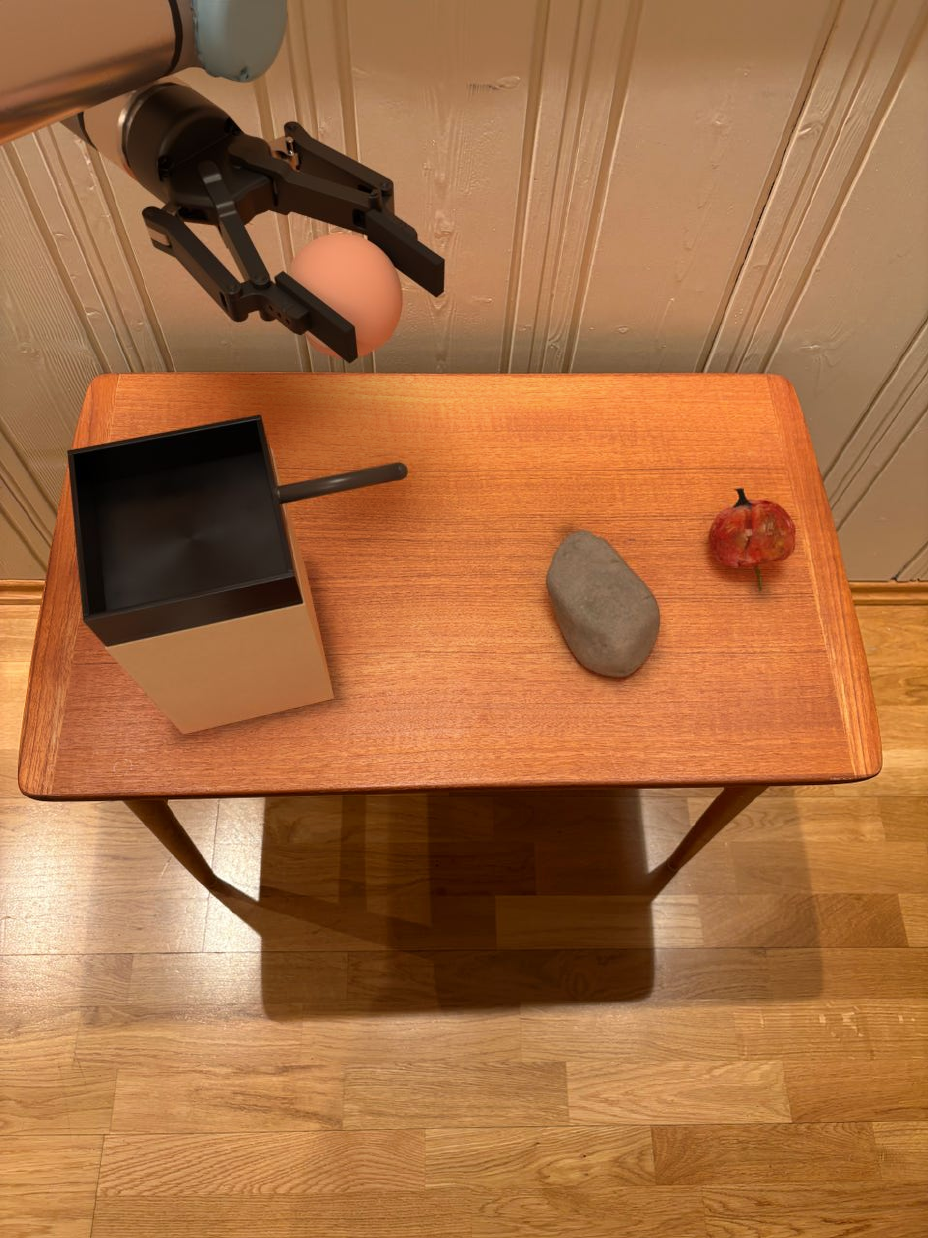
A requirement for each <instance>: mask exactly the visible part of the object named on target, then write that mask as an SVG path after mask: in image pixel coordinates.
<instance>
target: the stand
mask: <svg viewBox="0 0 928 1238" xmlns="http://www.w3.org/2000/svg"><path fill="white" fill-rule="evenodd" d="M270 448H271V447H270ZM271 452H272V457H273V462H274V466H275V471H276V476H277V480H278V485H279V486H281V485H283V481H282V478H281V475H280V471H279V468H278V464H277V460H276V457H275V454H274V450H273V447H272V448H271ZM283 509H284V513H285V518H286V523H287V527H288V532H289V537H290V541H291V546H292V551H293V555H294V560H295V565H296V570H297V574H298V579H299V584H300V588H301V593H302V598H303V602H304V603H303V604H299V605H294V606H290V607H285V608H281V609H276V610H272V611H267V612H263V613H258V614H254V615H249V616H245V617H240V618H236V619H231V620H227V621H222V622H217V623H213V624H208V625H204V626H199V627H195V628H190V629H186V630H181V631H177V632H172V633H168V634H163V635H159V636H154V637H150V638H145V639H141V640H136V641H131V642H127V643H122V644H118V645H113V646H109V647H106V646H105V645H104V649H105V651H106V652H107V653H108V654H109V655H110V656H111V657H112V658H113V659H114V660H115V662H116V663H117V664H118V665H119V666H120V668H122V670H123V671H124V672H125V673H126V674H128V676H129V677H130V678H131V679H132V680H133V681H134V682H135V684H136V685H137V686H138V687H139V688H140V690H142V691H143V692H144V694H145V695H146V697H148V698H149V699H150V700H151V701H152V703H154V705H156V707H157V708H158V709H159V710H160V711H161V712H162V713H163V714H164V715H165V716H166V718H167V719H168V720H169V721H170V722H171V723H172V724H173V726H175V727H176V729H177V730H178V731H179V732H180V733H181V734H182V735H187V734H192V733H197V732H201V731H204V730H209V729H214V728H218V727H221V726H225V725H230V724H234V723H239V722H243V721H246V720H251V719H255V718H260V717H263V716H267V715H272V714H276V713H281V712H284V711H289V710H293V709H297V708H301V707H305V706H309V705H313V704H318V703H322V702H326V701H330V700H334V699H335V695H334V690H333V686H332V681H331V676H330V672H329V667H328V663H327V660H326V659H327V658H326V654H325V649H324V645H323V640H322V636H321V632H320V627H319V623H318V617H317V613H316V609H315V603H314V598H313V594H312V590H311V585H310V581H309V576H308V571H307V567H306V564H305V561H304V557H303V553H302V550H301V546H300V543H299V538H298V536H297V533H296V529H295V528H296V527H295V525H294V522H293V518H292V514H291V511H290V507H289V503H285V504H283Z"/></svg>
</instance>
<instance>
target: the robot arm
mask: <svg viewBox="0 0 928 1238" xmlns="http://www.w3.org/2000/svg"><path fill="white" fill-rule="evenodd" d="M287 4H288V0H0V147H2V146H5V145H6V144H9V143H11V142H14V141H16V140H18V139H21V138H23V137H25V136H28V135H31V134H33V133H35V132H39V131H40V130H42V129H45V128H47V127H49V126H52V125H54V124H56V123H60V124H61V125H62V126H63V127H65V128H66V129H68V130H69V131H70V132H71V133H72V134H74V135H75V136H77V137H78V138H80V139H81V140H82V141H84V142H85V143H86V144H88V146H90V147H92V148H93V149H94V150H96V151H97V152H99V154H101V155H102V156H104V157H105V158H106V159H108V161H110V162H112V163H113V164H114V165H115V166H116V167H118V168H119V169H120V170H122V171H123V172H124V173H125V174H126V175H128V176H129V177H130V178H132V179H133V180H135V182H137V183H139V185H140V186H141V187H142V188H144V189H145V190H146V191H147V192H148V193H150V194H151V195H152V196H154V197H155V198H156V199H158V201H160V202H161V203H163V204H164V205H163V206H162V207H161V208H160V207H157V206H154V205H150V206H146V207H144V208H143V209H142V211H141V217H142V218H143V222H144V224H145V227H146V230H147V233H148V235H149V238H150V241H151V245H152V246H153V248H155V249H157V250H158V251H160V252H162V253H164V254H167V255H169V256H171V257H172V258H174V259H175V260H176V261H178V262H179V264H180V265H181V266H182V267H183V268H184V270H186V271H187V273H188V274H189V275H190V276H191V277H192V278H193V279H194V280H195V281H196V283H198V285H199V286H200V287H201V288H202V289H203V290H204V291H205V293H207V295H208V296H209V297H210V298H211V299H212V300H213V301H214V303H216V304H217V305H218V307H220V309H221V310H222V311H223V312H224V313H225V315H226V316H227V317H228V318H229V319H230V320H231V321H232V322H235V323H243V322H245V321H247V320H248V319H249V317H250V315H249V314H252V313H254V312H258V313H259V316H260V319H261V320H262V321H264V322H267V323H269V322H274V321H277V322H278V323H280V324H281V325H283V326H284V327H285V328H287V330H289V331H290V332H291V333H293V334H295V335H299V336H303V335H304V334H305V332H307V331H309V332H310V333H311V334H313V335H314V336H315V337H316V338H318V339H319V340H320V341H321V342H323V343H324V344H325V345H327V346H328V347H329V348H330V349H332V350H333V351H334V352H335V353H337V354H338V355H339V356H340V357H342V358H341V359H343V360H344V361H345V362H346V363H348V364H352V363H353V362H354V361H356V360H357V359H358V358H359V357H358V351H357V342H356V332H355V326H354V325H353V324H351V323H350V322H349V321H347V320H346V319H345V318H343V317H342V316H341V315H340V314H338V313H337V312H336V311H334V310H333V309H332V308H331V307H329V306H328V305H327V304H325V303H324V302H323V301H322V300H320V299H319V298H318V297H316V296H315V295H314V294H312V293H311V292H310V291H309V290H307V289H306V288H305V287H303V286H302V285H301V284H300V283H298V282H297V281H296V280H294V279H293V277H292V275H291V276H290V275H289V274H288V273H287V272H285V271H284V270H281V271H280V272H279V273H278V274H276V275H274V276H273V279H274V281H273V280H272V278H271V275H270V273H269V270H268V269H267V267H266V265H265V263H264V261H263V259H262V257H261V255H260V253H259V251H258V250H257V247H256V245H255V243H254V241H253V240H252V238H251V236H250V234H249V231H248V230H247V228H246V226H247V225H248V224H249V223H251V222H252V220H254V218H255V217H256V216H258V215H261V214H264V213H266V212H268V211H270V212H274V213H276V214H279V215H283V216H289V215H290V213H294V214H298V215H301V216H303V217H307V218H310V219H314V220H316V221H320V222H322V223H326V224H329V225H332V226H335V227H338V228H342V229H344V230H348V231H351V232H353V233H357V234H360V235H363V236H366V237H367V238H366V240H368V241H370V242H372V243H373V244H375V245H376V246H377V247H379V248H380V249H381V250H382V251H383V252H384V253H385V254H386V255H387V256H388V258H389V259H390V260H391V262H392V264H393V265H394V267H395V269H396V270H397V271H399V272H400V273H402V274H403V275H405V276H406V277H407V278H408V279H410V280H411V281H413V282H414V283H416V284H417V285H418V286H419V287H421V288H422V289H423V290H424V291H426V292H427V293H429V294H430V295H431V296H433V297H435V298H438V297H440V296H441V295H442V294H444V293H445V273H446V267H445V266H446V259H445V258H444V257H442V256H441V255H440V254H439V253H437V252H436V251H433V249H431V248H430V247H428V246H426V245H425V244H424V243H423V242H421V241H420V240H418V239H419V234H418V231H416V228H414V227H413V226H412V225H410V224H408V223H407V222H406V221H404V220H403V219H402V218H400V217H399V216H398V215H396V212H395V211H396V209H395V190H394V189H395V185H394V184H395V183H394V181H393V180H392V179H391V178H389V177H387V176H385V175H383V174H382V173H380V172H378V171H376V170H374V169H372V168H370V167H368V166H366V165H364V164H362V163H361V162H359V161H357V160H355V159H353V158H351V157H350V156H347V155H346V154H344V153H342V152H340V151H338V150H337V149H335V148H333V147H330V146H329V145H327V144H325V143H323V142H322V141H320V140H318V139H316V138H314V137H313V136H312V135H310V134H309V132H308V131H307V130H306V129H305V127H303V126H302V125H301V124H300V123H299V122H298V121H293V120H290V121H287V122H286V123H284V124H283V132H284V135H283V136H280V137H278V138H275V139H272V140H270V141H267V140H265V139H263V138H262V137H260V136H255V135H250V134H247V133H245V132H244V131H243V130H242V128H241V127H240V126H239V125H238V123H237V122H236V120H234V119H233V118H232V117H231V115H230V114H229V113H228V112H226V111H225V110H224V109H222V108H221V107H219V105H217V104H215V102H213V101H211V100H210V99H209V98H207V97H205V95H203V94H202V93H200V92H199V91H197V90H196V89H195V88H193V87H191V85H190V84H189V83H187V82H186V81H184V80H183V79H181V78H180V77H179V76H177V75H176V74H177V73H180V72H182V71H185V70H187V69H191V68H199V69H201V70H204V71H205V73H206V74H207V75H208V76H210V77H212V78H215V79H217V78H223V79H226V80H228V81H231V82H235V83H241V84H242V83H243V84H249V83H252V82H255V81H256V80H258V79H261V77H263V76H265V74H266V73H267V72H268V70H269V69H270V68H271V67H272V66H273V64H274V63H275V61H276V59H277V58H278V55H279V53H280V51H281V49H282V46H283V43H284V39H285V35H286V32H287V26H288V18H289V14H288V5H287ZM186 223H189V224H197V225H205V226H214V227H215V228H216V231H218V233H219V236H220V238H221V239H222V242H223V243H224V246H225V248H226V249H227V250H228V251H229V253H230V255H231V257H232V259H233V262H234V263H235V265H236V267H237V269H238V272H239V273H240V275H241V277H242V279H243V282H241V281H239V280H238V279H237V277H236V276H234V274H232V272H231V271H230V270H229V269H228V268H227V267H226V266H225V265H224V263H222V261H220V260H219V258H218V257H217V256H216V255H215V254H214V253H213V252H212V251H211V250H210V249H209V248H208V246H206V245H205V243H204V242H203V241H202V240H201V239H200V238H199V237H198V236H197V235H196V234H195V232H194V231H192V229H191V228H190V227H189V226H188V225H187V224H186Z"/></svg>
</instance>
